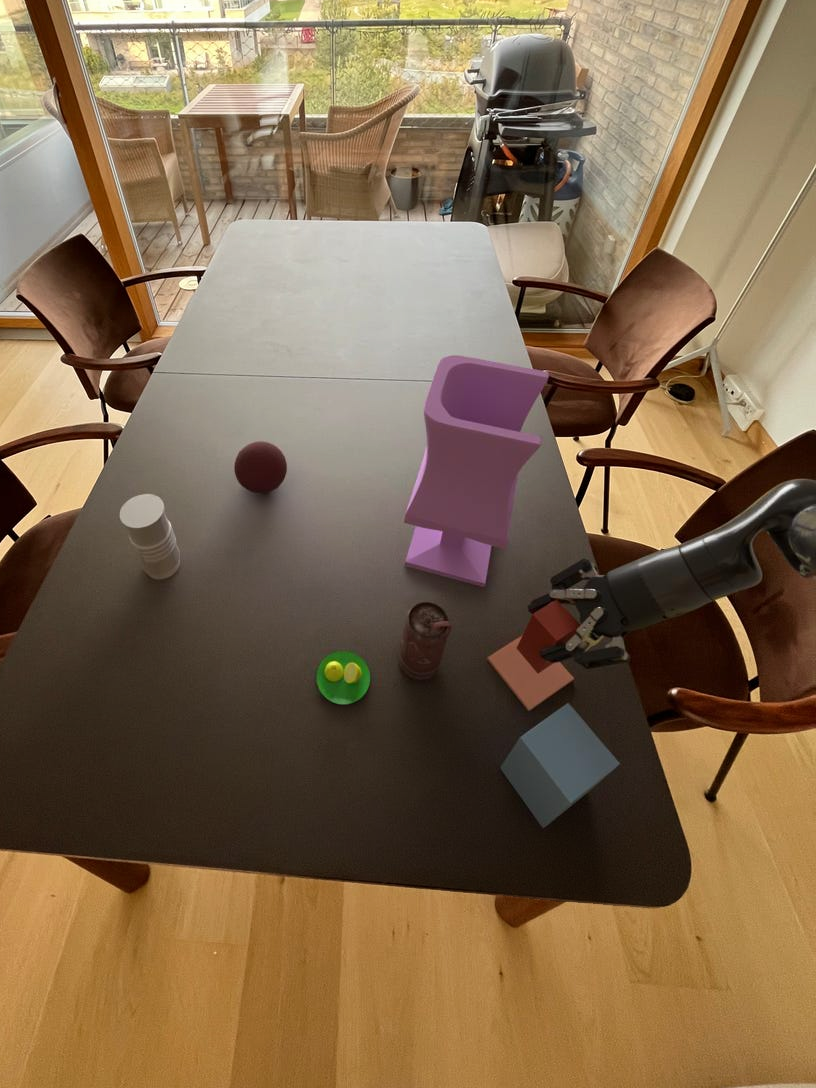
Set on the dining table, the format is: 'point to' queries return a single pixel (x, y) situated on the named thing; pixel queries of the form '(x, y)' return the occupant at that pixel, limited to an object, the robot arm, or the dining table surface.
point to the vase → (470, 464)
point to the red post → (546, 633)
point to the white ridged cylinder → (151, 535)
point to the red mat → (528, 676)
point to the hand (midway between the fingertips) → (537, 633)
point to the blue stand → (557, 764)
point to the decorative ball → (260, 467)
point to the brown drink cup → (423, 642)
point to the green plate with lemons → (343, 677)
